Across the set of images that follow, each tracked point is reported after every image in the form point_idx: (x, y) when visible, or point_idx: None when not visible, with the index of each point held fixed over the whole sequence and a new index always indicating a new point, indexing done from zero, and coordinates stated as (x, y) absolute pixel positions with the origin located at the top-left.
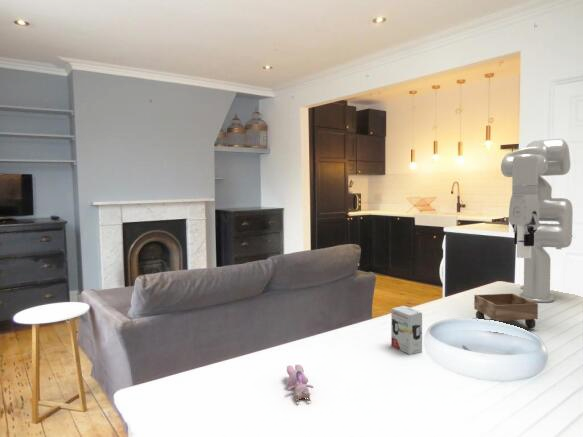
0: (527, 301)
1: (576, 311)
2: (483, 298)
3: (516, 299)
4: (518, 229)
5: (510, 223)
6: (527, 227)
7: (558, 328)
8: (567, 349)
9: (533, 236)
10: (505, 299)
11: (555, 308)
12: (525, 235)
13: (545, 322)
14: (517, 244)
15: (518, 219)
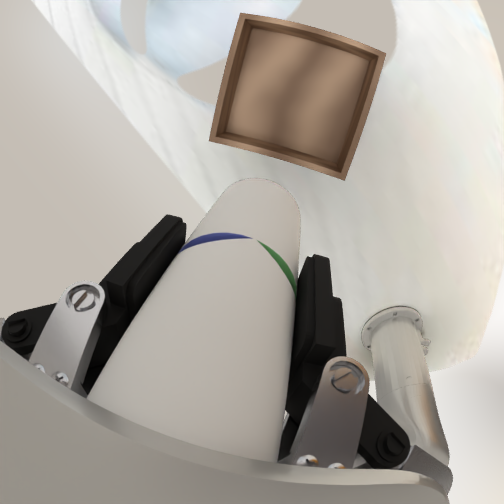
0: (253, 145)
1: None
2: (369, 77)
3: (312, 160)
4: (192, 352)
5: (442, 467)
6: (39, 346)
7: None
8: (132, 102)
9: None
10: (345, 149)
11: None
12: (113, 273)
13: None
14: (262, 224)
15: (33, 493)
